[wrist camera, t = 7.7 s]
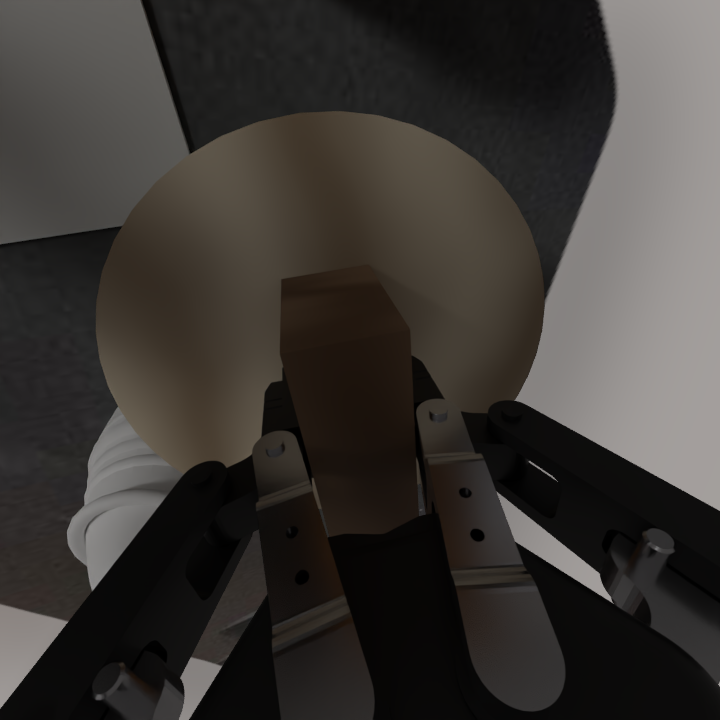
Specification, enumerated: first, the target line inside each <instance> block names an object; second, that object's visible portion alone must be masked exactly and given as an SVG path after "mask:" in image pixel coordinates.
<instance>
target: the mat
mask: <svg viewBox="0 0 720 720" xmlns="http://www.w3.org/2000/svg"><path fill="white" fill-rule="evenodd" d="M188 155H190V151H189V147H188V144H187V141H186V138H185V135H184V132H183V128H182V125H181V122H180V119H179V116H178V113H177V109H176V106H175V103H174V100H173V97H172V94H171V90H170V87H169V84H168V81H167V78H166V75H165V71H164V68H163V65H162V62H161V59H160V56H159V52H158V49H157V46H156V43H155V40H154V37H153V33H152V30H151V27H150V24H149V21H148V18H147V14H146V11H145V8H144V5H143V2H142V0H0V244H5V243H12V242H18V241H25V240H32V239H38V238H45V237H52V236H58V235H65V234H72V233H78V232H85V231H91V230H98V229H105V228H111V227H118V226H123V224H124V223H125V221H126V219H127V218H128V216H129V214H130V213H131V211H132V209H133V208H134V207H135V206H136V205H137V203H138V202H139V201H140V200H141V199H142V198H143V196H144V195H145V194H146V193H147V192H148V191H149V189H150V188H151V187H152V186H153V185H154V184H155V182H156V181H157V180H159V179H160V178H161V177H162V176H163V175H165V174H166V173H167V172H168V171H169V170H171V169H172V168H173V167H174V166H175V165H177V164H178V163H179V162H180V161H181V160H183V159H184V158H185V157H186V156H188Z"/></svg>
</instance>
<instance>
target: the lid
mask: <svg viewBox="0 0 720 720" xmlns="http://www.w3.org/2000/svg"><path fill="white" fill-rule="evenodd" d="M544 307H545V304H544V280H543V275H542V269H541V264H540V258H539V254H538V251H537V248H536V245H535V243H534V240H533V237H532V234H531V231H530V229H529V227H528V225H527V223H526V221H525V220H524V218H523V216H522V214H521V212H520V210H519V208H518V206H517V205H516V203H515V202H514V201H513V199H512V198H511V197H510V196H509V194H508V193H507V192H506V190H505V189H504V188H503V186H502V185H501V184H500V182H499V181H498V180H497V179H496V178H495V177H494V176H493V175H491V174H490V173H489V172H488V171H487V170H486V169H485V168H484V167H483V166H482V165H481V164H480V163H479V162H478V161H477V160H475V159H474V158H473V157H471V156H470V155H468V154H467V153H465V152H464V151H462V150H461V149H459V148H458V147H456V146H455V145H453V144H452V143H450V142H449V141H447V140H445V139H443V138H441V137H439V136H437V135H434V134H432V133H430V132H428V131H426V130H423V129H421V128H419V127H417V126H415V125H412V124H408V123H404V122H401V121H397V120H393V119H390V118H386V117H382V116H378V115H370V114H361V113H352V112H342V111H331V112H312V113H297V114H292V115H288V116H283V117H278V118H273V119H269V120H264V121H259V122H256V123H254V124H251V125H249V126H246V127H244V128H241V129H238V130H236V131H233V132H231V133H228V134H225V135H223V136H220V137H219V138H217V139H215V140H214V141H212V142H210V143H208V144H207V145H205V146H203V147H202V148H200V149H198V150H197V151H195V152H193V153H191V154H190V155H188V156H186V157H185V158H184V159H183V160H181V161H180V162H179V163H178V164H177V165H175V166H174V167H173V168H172V169H171V170H169V171H168V172H167V173H166V174H165V175H163V176H162V177H161V178H160V179H159V180H157V181H156V182H155V184H154V185H153V186H152V187H151V188H150V189H149V191H148V192H147V193H146V194H145V195H144V196H143V198H142V199H141V200H140V201H139V202H138V203H137V205H136V206H135V207H134V208H133V209H132V211H131V213H130V214H129V216H128V218H127V219H126V221H125V223H124V224H123V226H122V228H121V229H120V231H119V233H118V234H117V236H116V238H115V239H114V242H113V244H112V247H111V250H110V252H109V255H108V257H107V260H106V263H105V265H104V268H103V271H102V275H101V280H100V286H99V291H98V296H97V301H96V337H97V344H98V350H99V357H100V362H101V365H102V368H103V371H104V374H105V378H106V381H107V384H108V387H109V389H110V391H111V393H112V395H113V397H114V399H115V401H116V403H117V405H118V407H119V409H120V411H121V412H122V414H123V415H124V416H125V418H126V419H127V421H128V422H129V424H130V425H131V426H132V428H133V429H134V431H135V432H136V433H137V434H138V435H139V436H140V437H141V439H142V440H143V441H144V442H145V443H146V444H147V445H148V446H149V447H150V448H151V449H152V450H153V451H154V452H155V453H156V454H157V455H159V456H160V457H161V458H162V459H163V460H165V461H166V462H167V463H168V464H169V465H171V466H172V467H173V468H175V469H177V470H178V471H180V472H181V473H183V474H185V473H186V472H187V471H188V470H189V469H191V468H192V467H194V466H195V465H197V464H200V463H202V462H206V461H219V462H221V463H223V464H224V465H225V466H226V468H227V467H229V466H232V465H234V464H236V463H238V462H240V461H242V460H244V459H246V458H247V457H249V456H250V455H251V454H252V449H253V446H254V445H255V443H256V442H257V441H258V440H259V439H260V438H261V433H262V420H263V411H264V409H263V407H264V394H265V391H266V389H267V388H268V386H269V385H270V383H272V382H277V381H282V367H283V368H284V372H285V375H286V379H287V383H288V386H289V390H290V394H291V397H292V401H293V405H294V408H295V412H296V416H297V419H298V423H299V427H300V430H301V434H302V438H303V441H304V445H305V449H306V452H307V456H308V460H309V463H310V467H311V471H312V474H313V478H312V489H313V493H314V496H315V499H316V502H317V506H318V509H322V511H323V515H324V518H325V522H326V526H327V529H328V533H329V537H332V536H336V535H341V534H384V533H387V532H389V531H391V530H393V529H395V528H397V527H399V526H400V525H402V524H404V523H406V522H408V521H410V520H412V519H414V518H416V517H418V516H419V509H418V488H417V485H418V484H420V477H419V466H418V460H417V458H416V444H415V422H414V400H413V379H412V357H411V356H412V355H413V356H414V357H416V358H418V359H419V360H421V361H422V362H423V364H424V365H425V367H426V369H427V371H428V372H429V374H430V375H431V378H432V379H433V380H434V382H435V383H436V385H437V387H438V388H439V390H440V392H441V393H442V395H443V397H444V398H445V400H448V401H451V402H453V403H454V404H456V405H457V406H458V407H459V409H460V411H463V412H468V413H488V409H489V407H490V406H491V405H492V404H494V403H496V402H498V401H503V400H512V401H514V400H515V399H516V397H517V396H518V394H519V392H520V390H521V388H522V386H523V384H524V382H525V380H526V378H527V377H528V375H529V372H530V369H531V367H532V364H533V361H534V359H535V356H536V353H537V349H538V345H539V341H540V336H541V333H542V326H543V317H544Z"/></svg>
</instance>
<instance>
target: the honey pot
mask: <svg viewBox="0 0 720 720" xmlns="http://www.w3.org/2000/svg"><path fill="white" fill-rule="evenodd" d="M88 474H89V476H88V480H87V490H86V492H85V495H84V501H85V506H84V507H83V508H82V509H81V510H80V511H79V512H78V513H77V514H76V515H75V516H74V517H73V518H72V520H71V523H70V525H69V528H68V530H67V538H68V545H69V547H70V549H71V550H72V552H73V554H74V555H75V557H76V558H78V559H79V560H80V561H81V562H82V563H84V564H85V565H86V566H87V568H88V575H89V581H90V585H91V588H92V591H93V590H94V588H95V587H96V586H97V585H98V583H99V582H100V581H101V579H102V578H103V577H104V576H105V574H106V573H107V572H108V571H109V569H110V568H111V567H112V565H113V564H114V563H115V562H116V560H117V559H118V558H119V556H120V555H121V554H122V553H123V551H124V550H125V549H126V547H127V546H128V545H129V544H130V542H131V541H132V540H133V539H134V537H135V536H136V535H137V533H138V532H139V531H140V530H141V528H142V527H143V526H144V524H145V523H146V522H147V521H148V519H149V518H150V517H151V516H152V514H153V513H154V512H155V510H156V509H157V508H158V507H159V505H160V504H161V503H162V501H163V500H164V499H165V498H166V496H167V495H168V494H169V492H170V491H171V490H172V489H173V487H174V486H175V485H176V484H177V482H178V481H179V480H180V478H181V477H182V476H183V475H184V474H183V473H181V472H180V471H178V470H177V469H175V468H173V467H172V466H171V465H169V464H168V463H167V462H166V461H165V460H163V459H162V458H161V457H160V456H159V455H157V454H156V453H155V452H154V451H153V450H152V449H151V448H150V447H149V446H148V445H147V444H146V443H145V442H144V441H143V440H142V439H141V437H140V436H139V435H138V434H137V433H136V432H135V431H134V429H133V428H132V426H131V425H130V424H129V422H128V421H127V419H126V418H125V416H124V415H123V414H122V412H121V411H120V409H119V407H118V408H117V409H116V411H115V412H114V414H113V416H112V417H111V419H110V420H109V422H108V424H107V425H106V427H105V429H104V430H103V432H102V434H101V436H100V437H99V440H98V442H97V443H96V444H95V445H94V448H93V450H92V453H91V456H90V458H89V462H88Z"/></svg>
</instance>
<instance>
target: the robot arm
mask: <svg viewBox="0 0 720 720" xmlns="http://www.w3.org/2000/svg"><path fill="white" fill-rule="evenodd" d="M411 357H412V379H413V400H414V422H415V444H416V458H417V460H418V466H419V477H420V483H421V488H422V494H423V500H424V506H425V512H426V515H422V516H418V517H416V518H414V519H412V520H410V521H408V522H406V523H404V524H402V525H400V526H399V527H397V528H395V529H393V530H391V531H389V532H387V533H384V534H341V535H336V536H332V537H328V538H327V535H326V532H325V528H324V525H323V522H322V519H321V515H320V512H319V509H318V506H317V502H316V499H315V496H314V493H313V489H312V478H313V474H312V471H311V467H310V463H309V460H308V456H307V452H306V449H305V445H304V441H303V438H302V434H301V430H300V427H299V423H298V419H297V416H296V412H295V408H294V405H293V401H292V397H291V394H290V390H289V386H288V383H287V379H286V375H285V372H284V368H283V367H282V381H277V382H272V383H270V385H269V386H268V388H267V389H266V391H265V394H264V407H263V409H264V411H263V420H262V433H261V438H260V439H259V440H258V441H257V442H256V443H255V445H254V446H253V449H252V454H251V455H250V456H249V457H247V458H246V459H244V460H242V461H240V462H238V463H236V464H234V465H232V466H229V467H227V468H226V466H225V465H224V464H223V463H221V462H219V461H206V462H202V463H200V464H197V465H195V466H194V467H192V468H191V469H189V470H188V471H187V472H186V473H185V474H184V475H183V476H182V477H181V478H180V480H179V481H178V482H177V484H176V485H175V486H174V487H173V489H172V490H171V491H170V492H169V494H168V495H167V496H166V498H165V499H164V500H163V501H162V503H161V504H160V505H159V507H158V508H157V509H156V510H155V512H154V513H153V514H152V516H151V517H150V518H149V519H148V521H147V522H146V523H145V524H144V526H143V527H142V528H141V530H140V531H139V532H138V533H137V535H136V536H135V537H134V539H133V540H132V541H131V542H130V544H129V545H128V546H127V547H126V549H125V550H124V551H123V553H122V554H121V555H120V556H119V558H118V559H117V560H116V562H115V563H114V564H113V565H112V567H111V568H110V569H109V571H108V572H107V573H106V574H105V576H104V577H103V578H102V579H101V581H100V582H99V583H98V585H97V586H96V587H95V588H94V590H93V591H92V592H91V594H90V595H89V596H88V597H87V599H86V600H85V601H84V603H83V604H82V605H81V606H80V608H79V609H78V610H77V611H76V613H75V614H74V615H73V617H72V618H71V619H70V620H69V622H68V623H67V624H66V626H65V627H64V628H63V629H62V631H61V632H60V633H59V634H58V636H57V637H56V638H55V640H54V641H53V642H52V643H51V645H50V646H49V647H48V649H47V650H46V651H45V652H44V654H43V655H42V656H41V658H40V659H39V660H38V661H37V663H36V664H35V665H34V666H33V668H32V669H31V671H30V672H29V673H28V674H27V675H26V677H25V678H24V679H23V681H22V682H21V683H20V684H19V686H18V687H17V688H16V690H15V691H14V692H13V693H12V695H11V696H10V697H9V699H8V700H7V701H6V702H5V704H4V705H3V706H2V707H1V709H0V720H179V717H180V714H181V712H182V708H183V704H184V686H183V683H182V680H181V679H180V677H181V675H182V673H183V671H184V669H185V667H186V665H187V663H188V661H189V659H190V657H191V655H192V653H193V652H194V650H195V648H196V646H197V644H198V642H199V640H200V638H201V636H202V634H203V632H204V630H205V628H206V626H207V624H208V622H209V620H210V618H211V616H212V614H213V612H214V610H215V608H216V606H217V604H218V602H219V600H220V598H221V596H222V594H223V593H224V591H225V589H226V587H227V585H228V583H229V581H230V579H231V577H232V575H233V573H234V571H235V569H236V567H237V565H238V563H239V561H240V559H241V557H242V555H243V553H244V551H245V549H246V547H247V545H248V543H249V541H250V539H251V537H252V534H253V532H254V531H256V530H258V529H259V534H260V541H261V549H262V556H263V563H264V571H265V578H266V586H267V593H268V594H267V596H266V597H265V599H264V600H263V602H262V604H261V605H260V607H259V608H258V610H257V612H256V613H255V615H254V616H253V618H252V620H251V621H250V623H249V625H248V626H247V628H246V629H245V631H244V633H243V634H242V636H241V637H240V639H239V641H238V642H237V644H236V645H235V647H234V649H233V650H232V652H231V653H230V655H229V657H228V658H227V660H226V661H225V663H224V665H223V666H222V668H221V669H220V671H219V673H218V674H217V676H216V677H215V679H214V681H213V682H212V684H211V686H210V687H209V689H208V690H207V692H206V693H205V695H204V697H203V698H202V700H201V701H200V703H199V705H198V706H197V708H196V710H195V711H194V713H193V714H192V716H191V718H190V719H189V720H720V687H719V685H718V684H719V682H720V511H719V510H717V509H715V508H713V507H711V506H710V505H708V504H706V503H704V502H702V501H701V500H699V499H697V498H695V497H693V496H691V495H690V494H688V493H686V492H684V491H682V490H681V489H679V488H677V487H675V486H673V485H671V484H669V483H668V482H666V481H664V480H662V479H660V478H658V477H657V476H655V475H653V474H651V473H649V472H648V471H646V470H644V469H642V468H640V467H639V466H637V465H635V464H633V463H631V462H629V461H628V460H626V459H624V458H622V457H620V456H618V455H617V454H615V453H613V452H611V451H609V450H607V449H606V448H604V447H602V446H600V445H598V444H597V443H595V442H593V441H591V440H589V439H588V438H586V437H584V436H582V435H580V434H578V433H577V432H575V431H573V430H571V429H569V428H567V427H566V426H564V425H562V424H560V423H558V422H557V421H555V420H553V419H551V418H549V417H547V416H546V415H544V414H542V413H540V412H538V411H536V410H535V409H533V408H531V407H529V406H527V405H525V404H523V403H521V402H517V401H512V400H503V401H498V402H496V403H494V404H492V405H491V406H490V407H489V409H488V413H468V412H463V411H460V409H459V407H458V406H457V405H456V404H454V403H453V402H451V401H448V400H445V398H444V397H443V395H442V393H441V392H440V390H439V388H438V387H437V385H436V383H435V382H434V380H433V379H432V378H431V375H430V374H429V372H428V371H427V369H426V367H425V365H424V364H423V362H422V361H421V360H419V359H418V358H416V357H414V356H413V355H412V356H411ZM529 461H531V462H533V463H534V464H535V465H537V466H539V467H540V468H542V469H543V470H544V471H546V472H547V473H549V474H550V475H552V476H553V477H554V478H555V479H556V480H557V481H558V482H557V481H556V480H554V479H553V478H551V477H550V476H548V475H547V474H545V473H544V472H542V471H541V470H539V469H538V468H536V467H535V466H533V465H532V464H530V463H529ZM496 491H497V492H498V493H499V494H501V495H502V496H503V497H505V498H506V499H507V500H508V501H509V502H511V503H512V504H513V505H514V506H516V507H517V508H518V509H520V510H521V511H522V512H523V513H525V514H526V515H527V516H528V517H530V518H531V519H532V520H533V521H535V522H536V523H537V524H539V525H540V526H541V527H542V528H543V529H545V530H546V531H547V532H548V533H550V534H551V535H552V536H553V537H555V538H556V539H557V540H558V541H560V542H561V543H562V544H563V545H565V546H566V547H567V548H568V549H570V550H571V551H572V552H574V553H575V554H576V555H577V556H578V557H580V558H581V559H582V560H584V561H585V562H586V563H587V564H589V565H590V566H591V567H592V568H594V569H595V570H596V571H597V572H599V573H600V577H601V581H602V584H603V586H604V588H605V589H606V591H607V592H608V594H609V595H610V596H611V599H612V602H613V603H614V604H613V603H611V602H610V601H608V600H607V599H605V598H603V597H602V596H600V595H599V594H597V593H595V592H594V591H592V590H591V589H589V588H587V587H586V586H584V585H583V584H581V583H580V582H578V581H577V580H575V579H573V578H572V577H570V576H568V575H567V574H565V573H564V572H562V571H560V570H559V569H557V568H556V567H554V566H553V565H551V564H550V563H548V562H546V561H545V560H543V559H542V558H540V557H538V556H537V555H535V554H534V553H532V552H531V551H529V550H527V549H526V548H524V547H523V546H521V545H520V544H518V543H516V542H515V541H514V538H513V536H512V533H511V530H510V527H509V525H508V522H507V520H506V517H505V514H504V511H503V509H502V506H501V503H500V500H499V498H498V495H497V492H496Z"/></svg>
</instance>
